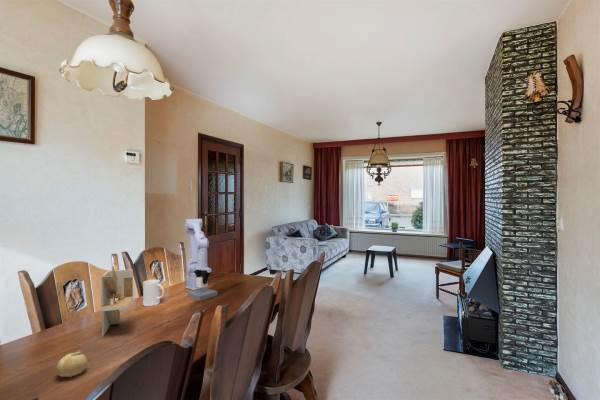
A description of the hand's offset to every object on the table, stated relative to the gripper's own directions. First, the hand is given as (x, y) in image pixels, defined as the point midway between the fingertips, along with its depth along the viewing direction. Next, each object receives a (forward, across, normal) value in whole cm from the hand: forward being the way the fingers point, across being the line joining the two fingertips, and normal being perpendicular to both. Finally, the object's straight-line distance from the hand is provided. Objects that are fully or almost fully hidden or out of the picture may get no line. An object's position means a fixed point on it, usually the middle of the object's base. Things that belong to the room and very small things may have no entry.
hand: (202, 283), depth 179 cm
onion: (+8, +37, -73) cm, 82 cm away
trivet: (+8, 0, 0) cm, 8 cm away
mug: (+8, -9, -24) cm, 27 cm away
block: (+2, 0, 0) cm, 2 cm away
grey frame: (+8, +11, -49) cm, 51 cm away
